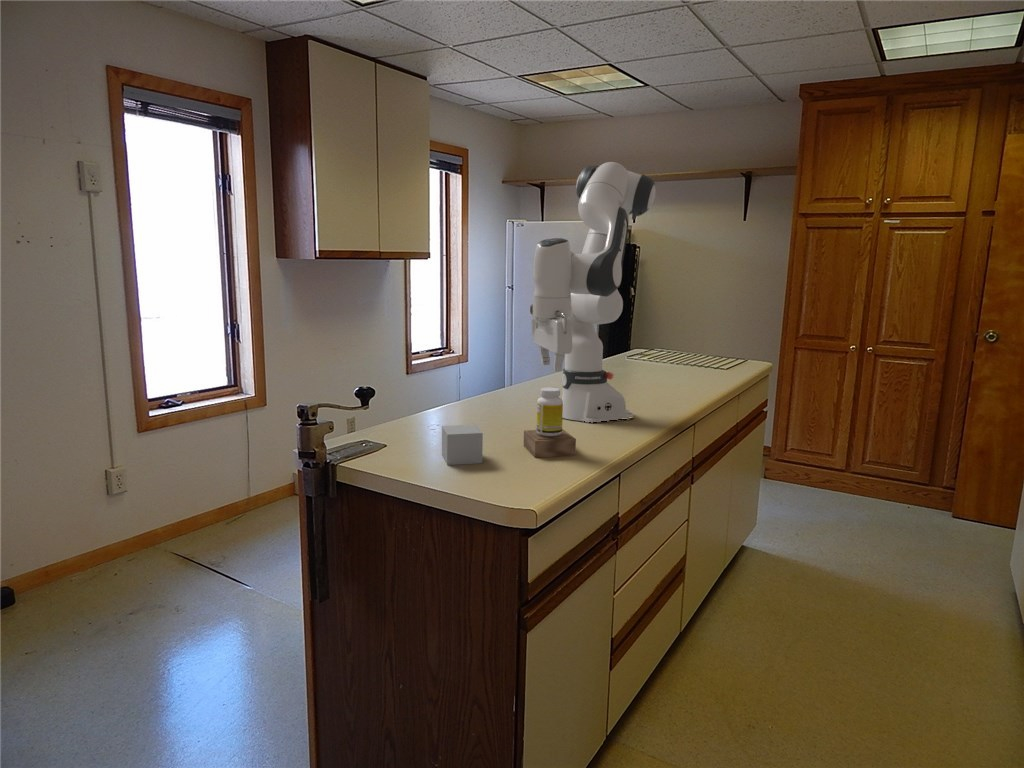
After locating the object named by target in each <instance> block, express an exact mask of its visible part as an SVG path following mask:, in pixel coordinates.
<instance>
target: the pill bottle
mask: <svg viewBox="0 0 1024 768" xmlns="http://www.w3.org/2000/svg"><path fill="white" fill-rule="evenodd" d="M540 396H541V397H539V398H538V399H537V401H536V403H537V404H536V430H537V434H539V435H541V436H547V437H553V436H559V435H561V434H562V429H563V418H562V417H563V401H562V397H560V396H561V389H560V388H557V387H541V388H540Z"/></svg>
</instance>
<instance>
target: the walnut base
mask: <svg viewBox="0 0 1024 768" xmlns="http://www.w3.org/2000/svg"><path fill="white" fill-rule="evenodd" d="M576 443H577V439H576V438H575V437H574V436H573V435H571V434H570V433H568V432H567V431H566V430H565V429H564V428H562V434H561V435H559V436H553V437H547V436H541V435H539V434H537V429H529V430H528V429H526V430H525V429H524V430H523V448H525V449H526V450H527V451H528V453H530V455H532V457H534V458H551V457H570V456H572V455H573V456H576V449H577V448H576V446H577V444H576Z"/></svg>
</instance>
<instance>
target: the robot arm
mask: <svg viewBox="0 0 1024 768" xmlns="http://www.w3.org/2000/svg"><path fill="white" fill-rule="evenodd" d="M575 186H576V195H577V197H578V199H579V200H578V206H577V210H578V215H579V217H580V219H581V221H582V223H583V224H585V225H586V226H587V227H588V228H589V230H588V232H587V235H586V238H585V241H584V245H583V248H582V251H581V253H575V252H574V251H572V250H571V246H570V241H569V240H568V239H565V238H562V237H561V238H560V237H559V238H558V237H557V238H556V237H555V238H547V239H543V240H541V241H539V242H538V243H537V244H536V246H535V251H534V258H533V271H532V273H533V281H534V292H533V295H532V299H533V300H532V304H531V305H530V306H529V314H530V315H531V332H532V333H531V334H532V341H533V343H534V344H535V345H537V346H539V354H540V357H541V358H540V362H541V364H542V365H543V366H549V365H550V364H551V357H550V353H549V351H550V352H552V353H553V357H554V361H553V363H552V369H553V371H554V372H557V373H559V372H562V379H561V381H562V394H561V395H562V396H561V399H562V401H563V417H562V419H565V420H571V421H580V422H584V421H585V423H589V422H591V423H590V424H594V423H593V422H597V423H602V422H601V421H607V422H610V421H609V420H616V419H622V418H629V417H633V418H634V414H633V412H631V410H627V405H626V399H625V396H624V394H622V393H621V392H619V391H618V390H617V389H616V388H614V386H612V384H610V383H609V382H608V380H610V381H611V380H613V379H614V373H613V372H610V371H606V370H604V369H603V358H604V357H603V356H604V355H603V353H604V351H603V350H604V345H603V342H602V340H601V339H600V338H599V336H598V334H597V333H596V330H595V325H604V324H611V323H614V322H616V321H617V320H618V319H619V317H620V316H621V315H622V312H623V308H624V307H623V306H624V300H623V297H622V295H621V294H620V291H619V290H618V288H620V286H621V283H622V278H623V262H624V257H625V251H626V245H627V238H628V233H629V222H630V221H629V220H630V215H631V220H632V221H634V220H636V218H637V217H640V216H642V215H644V214H645V213H647V212H648V211H649V209H650V208H651V206H652V205H653V203H654V202H655V199H656V190H657V189H656V183H655V180H654V179H653V178H652V177H649V176H648V175H645V174H639V173H637V172H635V171H634V172H633V171H631V170H627V169H626V167H625V166H624V165H622V164H620V163H618V162H616V161H608V162H607V161H606V162H604V163H602V164H600V165H587V166H585V167H584V168H582V170H581V172H580V173H579V175H578V177H577V179H576V185H575ZM594 324H595V325H594ZM563 364H564V368H563Z"/></svg>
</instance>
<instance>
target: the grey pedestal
mask: <svg viewBox="0 0 1024 768" xmlns="http://www.w3.org/2000/svg"><path fill="white" fill-rule="evenodd" d="M483 435H484V433H483V431H482V430H481V429H480V428H479V427H478V426H477V424H462V425H461V424H460V425H459V424H458V425H442V426H441V456H442V458H443V460H444V462H445V464H446V466H451V465H456V466H457V465H470V464H471V465H473V464H483V443H484V442H483V437H484V436H483Z"/></svg>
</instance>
